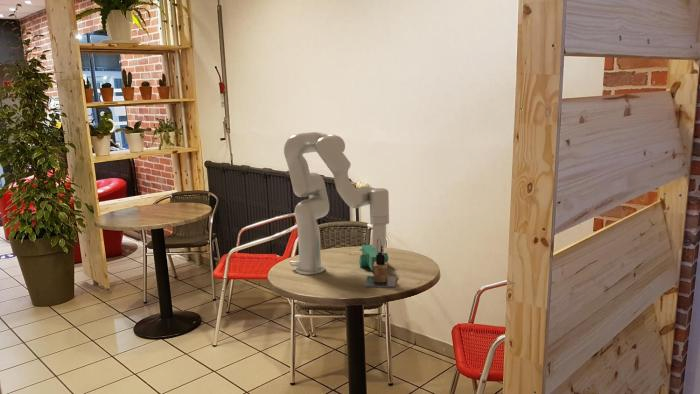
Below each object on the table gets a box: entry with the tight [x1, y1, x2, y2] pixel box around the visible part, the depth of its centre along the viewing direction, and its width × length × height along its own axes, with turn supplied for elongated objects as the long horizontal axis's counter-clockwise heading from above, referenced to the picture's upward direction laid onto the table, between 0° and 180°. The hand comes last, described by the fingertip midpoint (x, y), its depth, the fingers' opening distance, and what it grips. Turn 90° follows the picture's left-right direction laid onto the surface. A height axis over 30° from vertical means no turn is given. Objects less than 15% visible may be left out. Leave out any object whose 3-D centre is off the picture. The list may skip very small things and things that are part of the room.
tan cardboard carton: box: [373, 262, 388, 282], centre depth 212 cm, size 5×5×7 cm
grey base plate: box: [364, 275, 397, 289], centre depth 212 cm, size 12×12×7 cm
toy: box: [358, 241, 389, 272], centre depth 235 cm, size 12×10×30 cm
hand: (380, 263), depth 211 cm, fingers closed
